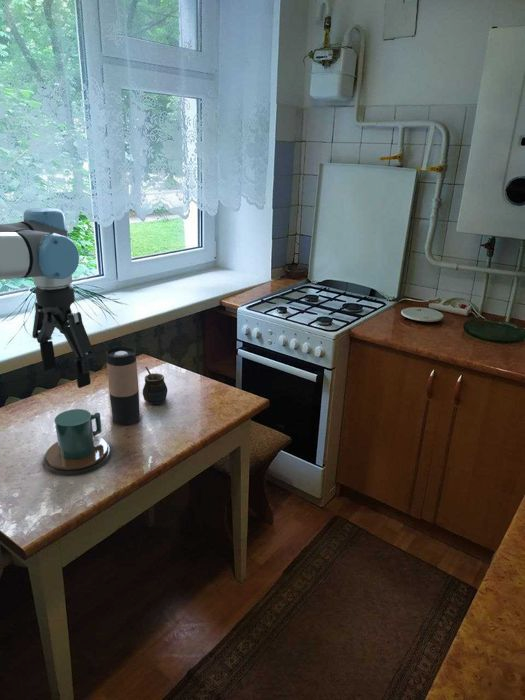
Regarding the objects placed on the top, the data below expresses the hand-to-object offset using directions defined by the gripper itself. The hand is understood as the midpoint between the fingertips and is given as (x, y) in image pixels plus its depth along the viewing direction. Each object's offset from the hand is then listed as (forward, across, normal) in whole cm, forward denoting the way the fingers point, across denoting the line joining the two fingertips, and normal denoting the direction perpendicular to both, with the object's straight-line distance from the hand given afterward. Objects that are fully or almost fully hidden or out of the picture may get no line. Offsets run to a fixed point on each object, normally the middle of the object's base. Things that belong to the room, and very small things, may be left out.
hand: (66, 377), depth 112 cm
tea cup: (+20, 0, 0) cm, 20 cm away
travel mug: (+22, +6, -19) cm, 29 cm away
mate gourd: (+22, +8, -31) cm, 39 cm away
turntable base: (+21, 0, 0) cm, 21 cm away
